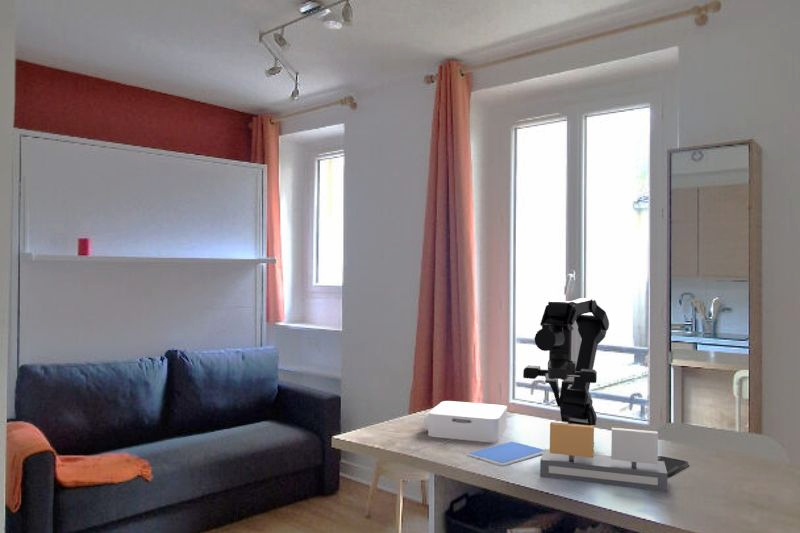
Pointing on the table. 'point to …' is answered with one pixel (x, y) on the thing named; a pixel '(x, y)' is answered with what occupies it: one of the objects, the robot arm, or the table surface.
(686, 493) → the table surface
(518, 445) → the tablet computer
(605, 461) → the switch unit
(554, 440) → the amber toggle
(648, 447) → the grey toggle
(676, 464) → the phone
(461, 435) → the projector
